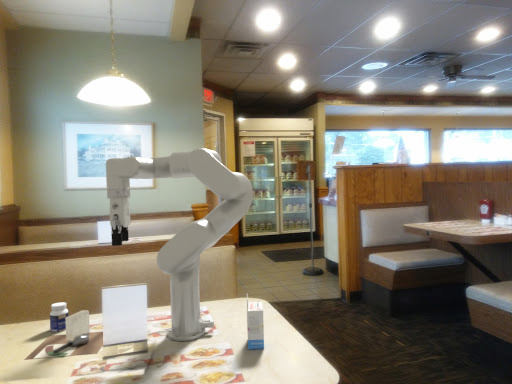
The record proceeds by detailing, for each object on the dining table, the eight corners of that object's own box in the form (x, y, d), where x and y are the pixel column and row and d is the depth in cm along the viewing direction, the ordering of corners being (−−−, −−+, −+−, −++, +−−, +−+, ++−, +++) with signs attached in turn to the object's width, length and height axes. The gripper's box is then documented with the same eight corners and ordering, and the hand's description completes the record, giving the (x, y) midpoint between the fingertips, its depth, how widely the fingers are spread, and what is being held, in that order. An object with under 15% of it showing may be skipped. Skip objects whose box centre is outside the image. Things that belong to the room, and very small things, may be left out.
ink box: (264, 349, 110) (263, 300, 109) (248, 350, 110) (246, 300, 109) (263, 337, 118) (261, 291, 118) (247, 338, 118) (246, 292, 118)
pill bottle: (61, 336, 124) (59, 307, 124) (46, 335, 125) (45, 306, 125) (72, 329, 130) (71, 301, 130) (58, 328, 131) (57, 301, 131)
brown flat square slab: (112, 334, 125) (112, 330, 125) (96, 358, 107) (96, 353, 107) (50, 339, 122) (49, 334, 122) (23, 364, 105) (23, 359, 105)
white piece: (79, 337, 119) (78, 309, 119) (94, 338, 118) (93, 310, 117) (46, 354, 107) (45, 323, 107) (63, 356, 106) (61, 325, 105)
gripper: (124, 194, 119) (126, 246, 120) (134, 193, 136) (136, 239, 137) (99, 195, 118) (102, 248, 119) (113, 193, 136) (115, 240, 136)
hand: (120, 243), depth 128 cm, fingers open, 9 cm apart
